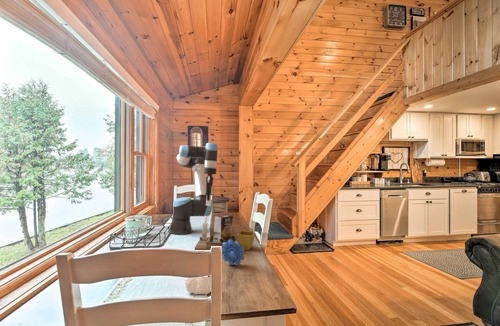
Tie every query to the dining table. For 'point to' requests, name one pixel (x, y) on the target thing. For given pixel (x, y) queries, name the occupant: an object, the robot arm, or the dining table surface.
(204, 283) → the bust
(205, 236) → the latch bar
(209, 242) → the stand
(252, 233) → the flower pot
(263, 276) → the dining table surface
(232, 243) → the blue flower head
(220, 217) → the coffee box
